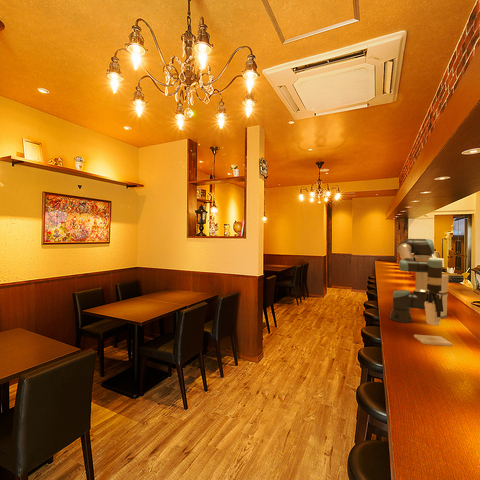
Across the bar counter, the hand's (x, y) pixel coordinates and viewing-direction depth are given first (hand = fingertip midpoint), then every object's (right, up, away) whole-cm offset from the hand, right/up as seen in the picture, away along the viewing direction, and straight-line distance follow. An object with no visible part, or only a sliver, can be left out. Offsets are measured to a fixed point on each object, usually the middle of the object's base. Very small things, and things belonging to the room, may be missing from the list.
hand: (433, 319), depth 170 cm
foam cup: (0, -3, 0) cm, 3 cm away
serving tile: (0, -14, 0) cm, 14 cm away
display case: (+43, -14, +56) cm, 72 cm away
